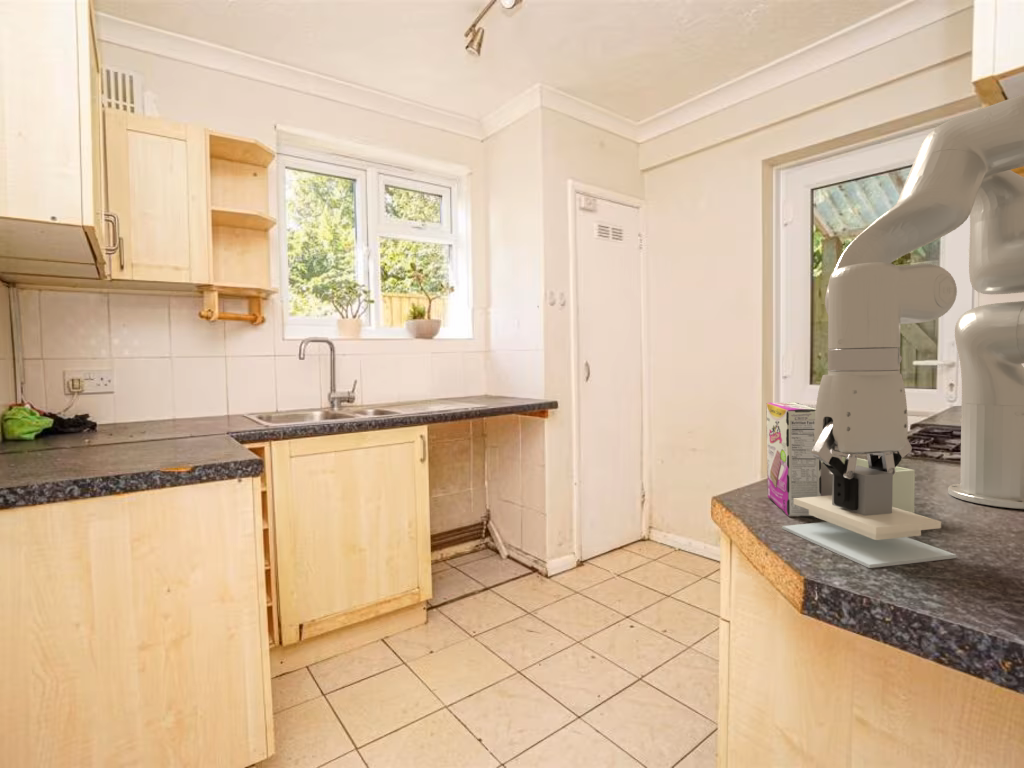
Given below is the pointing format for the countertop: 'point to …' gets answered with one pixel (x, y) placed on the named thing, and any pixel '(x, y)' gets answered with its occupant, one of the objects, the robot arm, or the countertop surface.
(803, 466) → the candy bar box
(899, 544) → the board
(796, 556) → the countertop surface
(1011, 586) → the countertop surface
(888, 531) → the lid
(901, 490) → the tub
